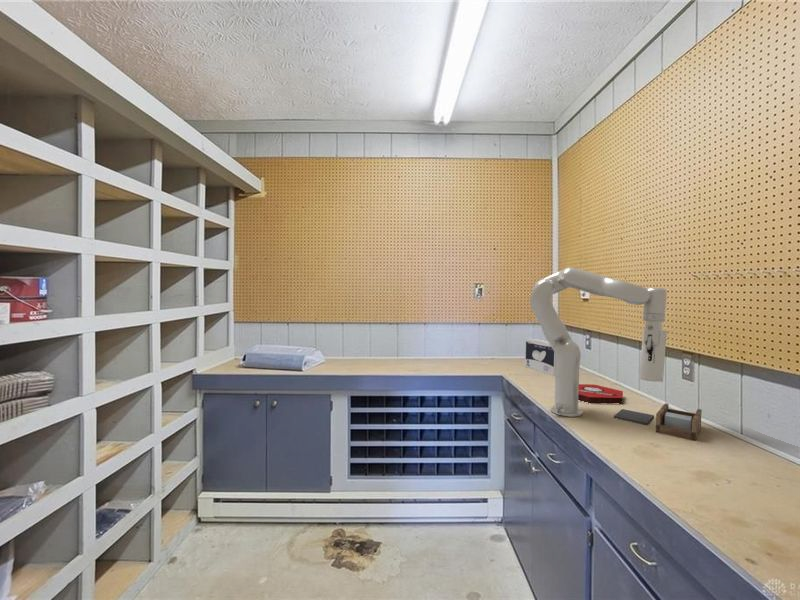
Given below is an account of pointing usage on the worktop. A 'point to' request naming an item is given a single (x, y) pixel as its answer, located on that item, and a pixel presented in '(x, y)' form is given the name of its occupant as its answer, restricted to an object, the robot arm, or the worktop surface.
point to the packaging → (540, 356)
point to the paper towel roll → (653, 360)
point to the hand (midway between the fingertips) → (650, 361)
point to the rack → (677, 431)
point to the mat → (634, 416)
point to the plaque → (599, 394)
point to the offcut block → (678, 421)
